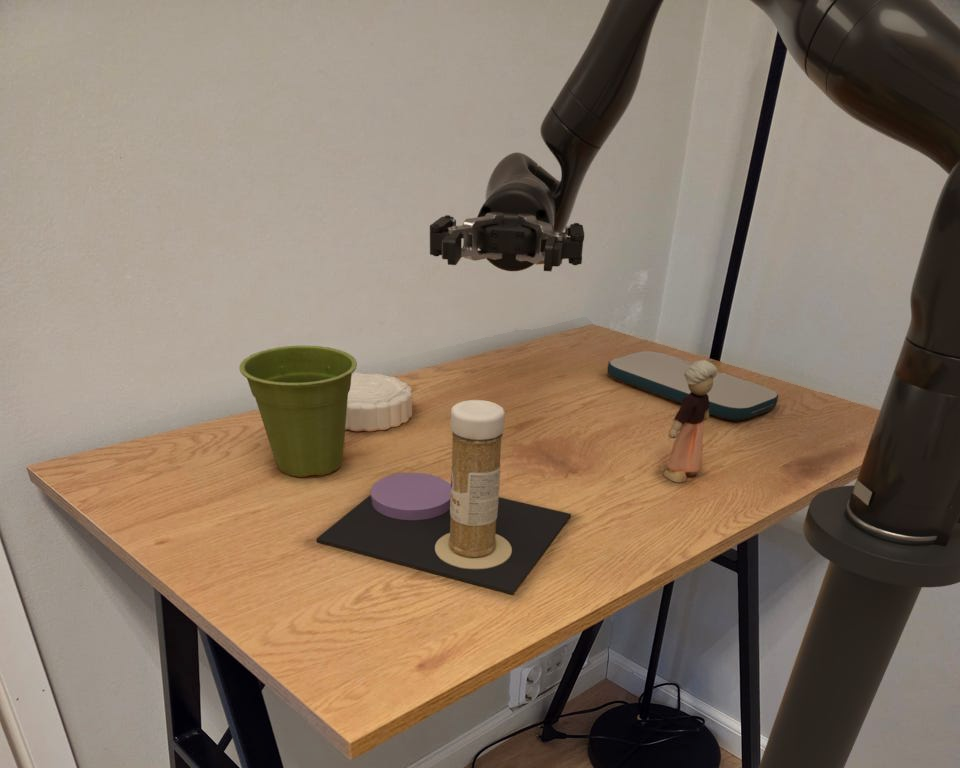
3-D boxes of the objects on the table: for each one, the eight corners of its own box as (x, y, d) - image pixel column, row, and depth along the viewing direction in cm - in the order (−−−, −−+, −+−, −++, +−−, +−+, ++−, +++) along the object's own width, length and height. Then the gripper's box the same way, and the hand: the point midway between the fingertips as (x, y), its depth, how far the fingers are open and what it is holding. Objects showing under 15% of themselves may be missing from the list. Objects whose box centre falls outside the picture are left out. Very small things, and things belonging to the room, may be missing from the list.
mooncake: (362, 441, 96) (360, 411, 94) (296, 413, 102) (294, 384, 100) (432, 414, 104) (432, 386, 101) (367, 390, 110) (366, 363, 108)
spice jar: (443, 537, 78) (445, 399, 70) (489, 532, 79) (496, 396, 71) (454, 561, 74) (458, 419, 66) (502, 556, 75) (511, 416, 67)
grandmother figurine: (688, 489, 89) (712, 374, 81) (654, 481, 90) (675, 366, 83) (708, 465, 94) (733, 354, 87) (676, 457, 96) (698, 347, 88)
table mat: (570, 517, 83) (571, 512, 83) (512, 595, 71) (513, 590, 71) (396, 476, 89) (396, 472, 89) (316, 542, 77) (316, 537, 77)
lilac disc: (466, 493, 85) (466, 482, 85) (431, 528, 79) (431, 517, 79) (395, 476, 88) (395, 466, 87) (355, 509, 82) (355, 498, 81)
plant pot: (272, 439, 95) (260, 341, 89) (372, 447, 95) (367, 349, 88) (238, 484, 86) (221, 378, 79) (348, 493, 85) (341, 387, 79)
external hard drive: (597, 376, 118) (599, 362, 117) (648, 361, 124) (650, 347, 123) (735, 427, 104) (739, 412, 103) (784, 408, 110) (788, 393, 109)
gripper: (449, 178, 83) (419, 202, 70) (590, 186, 81) (586, 212, 68) (448, 258, 87) (420, 295, 74) (582, 266, 86) (577, 306, 73)
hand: (499, 255), depth 71 cm, fingers open, 8 cm apart
